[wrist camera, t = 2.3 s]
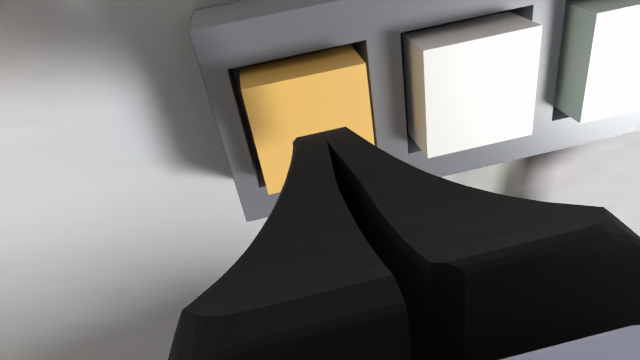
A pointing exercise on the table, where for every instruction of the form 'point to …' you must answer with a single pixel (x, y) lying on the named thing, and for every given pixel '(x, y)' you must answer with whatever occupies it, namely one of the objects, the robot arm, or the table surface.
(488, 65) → the middle key
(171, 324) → the table surface
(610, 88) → the sage key
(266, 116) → the amber key
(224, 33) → the keypad
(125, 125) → the table surface
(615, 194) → the table surface
